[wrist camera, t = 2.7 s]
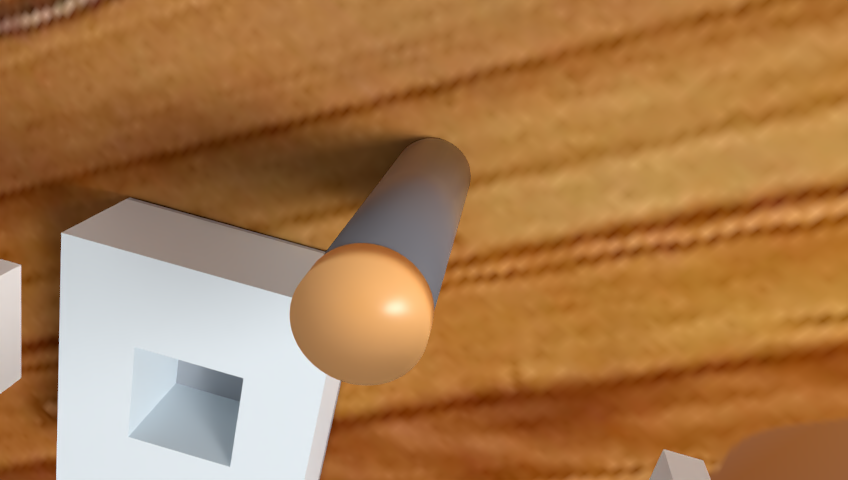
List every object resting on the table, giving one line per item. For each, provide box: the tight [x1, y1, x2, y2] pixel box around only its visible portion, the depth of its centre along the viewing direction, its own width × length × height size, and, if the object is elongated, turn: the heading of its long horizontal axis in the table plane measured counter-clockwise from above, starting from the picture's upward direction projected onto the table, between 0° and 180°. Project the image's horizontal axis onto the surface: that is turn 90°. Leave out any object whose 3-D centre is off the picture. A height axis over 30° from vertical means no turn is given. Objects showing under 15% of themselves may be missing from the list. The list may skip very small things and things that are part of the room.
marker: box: [290, 138, 471, 385], centre depth 22 cm, size 4×4×14 cm
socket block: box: [56, 197, 341, 480], centre depth 31 cm, size 12×14×5 cm
